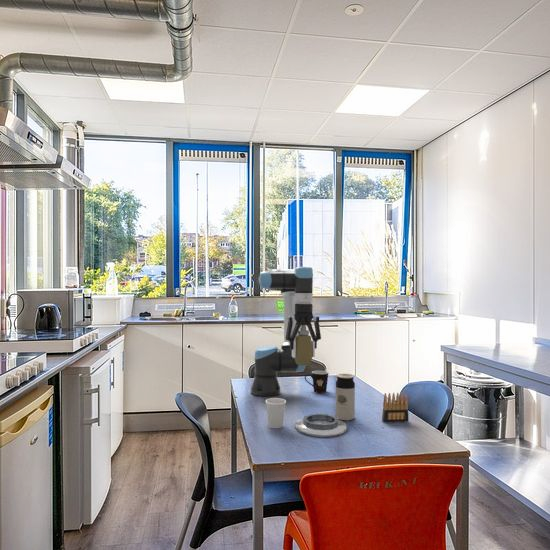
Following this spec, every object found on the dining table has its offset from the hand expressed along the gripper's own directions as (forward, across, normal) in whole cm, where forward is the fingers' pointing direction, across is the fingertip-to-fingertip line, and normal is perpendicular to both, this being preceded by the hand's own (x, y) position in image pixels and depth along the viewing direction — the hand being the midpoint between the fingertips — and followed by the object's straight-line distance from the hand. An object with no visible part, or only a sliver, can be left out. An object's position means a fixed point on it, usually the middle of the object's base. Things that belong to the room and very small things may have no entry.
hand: (303, 356), depth 186 cm
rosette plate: (+26, +2, -15) cm, 30 cm away
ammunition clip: (+26, +35, -16) cm, 46 cm away
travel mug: (+26, +17, -6) cm, 31 cm away
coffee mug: (+25, +23, +38) cm, 51 cm away
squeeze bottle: (+3, 0, 0) cm, 3 cm away
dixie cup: (+26, -14, -8) cm, 31 cm away
